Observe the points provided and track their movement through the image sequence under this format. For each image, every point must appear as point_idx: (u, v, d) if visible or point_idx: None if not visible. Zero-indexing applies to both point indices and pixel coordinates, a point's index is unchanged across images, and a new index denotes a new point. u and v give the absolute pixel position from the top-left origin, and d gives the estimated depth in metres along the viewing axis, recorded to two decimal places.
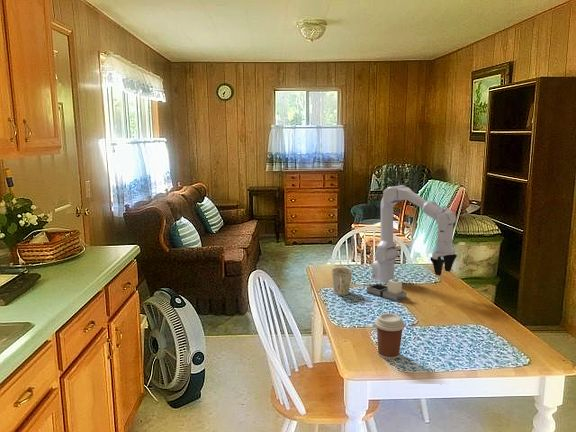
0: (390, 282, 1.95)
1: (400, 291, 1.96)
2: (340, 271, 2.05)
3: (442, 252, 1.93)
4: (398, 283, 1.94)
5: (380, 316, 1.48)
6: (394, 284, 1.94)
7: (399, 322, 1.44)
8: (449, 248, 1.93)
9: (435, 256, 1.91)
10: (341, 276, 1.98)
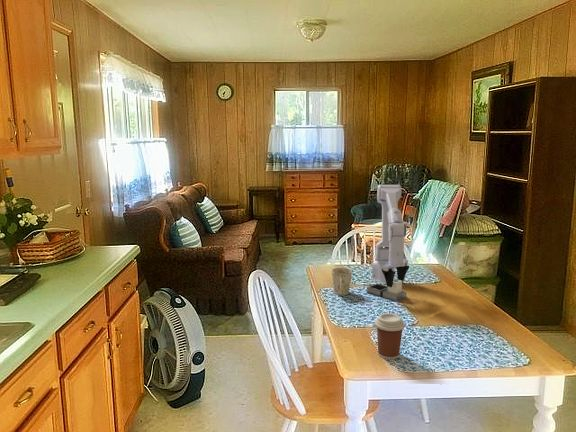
0: None
1: (400, 291, 1.96)
2: (340, 271, 2.05)
3: (393, 264, 1.92)
4: (398, 283, 1.94)
5: (380, 316, 1.48)
6: (394, 284, 1.94)
7: (399, 322, 1.44)
8: (400, 260, 1.92)
9: (385, 268, 1.90)
10: (341, 276, 1.98)
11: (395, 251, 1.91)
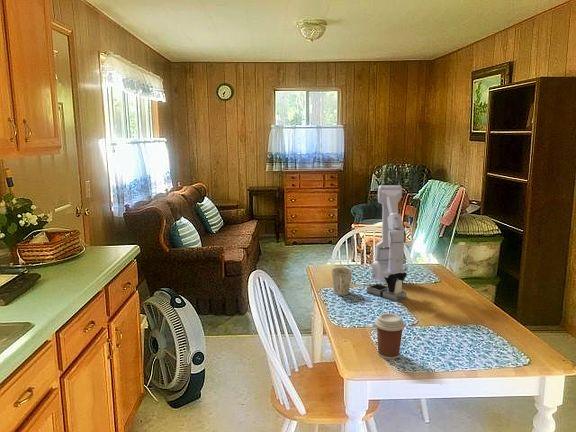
0: None
1: (400, 291, 1.96)
2: (340, 271, 2.05)
3: (393, 270, 1.93)
4: (398, 283, 1.94)
5: (380, 316, 1.48)
6: None
7: (399, 322, 1.44)
8: (400, 266, 1.92)
9: (385, 274, 1.90)
10: (341, 276, 1.98)
11: (395, 258, 1.92)
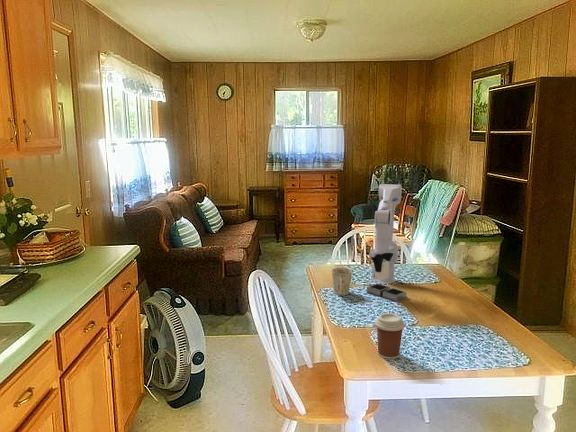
0: None
1: (387, 271, 2.00)
2: (340, 271, 2.05)
3: (379, 250, 1.96)
4: (385, 263, 1.98)
5: (380, 316, 1.48)
6: None
7: (399, 322, 1.45)
8: (386, 246, 1.96)
9: (372, 254, 1.94)
10: (341, 276, 1.98)
11: (379, 237, 1.96)
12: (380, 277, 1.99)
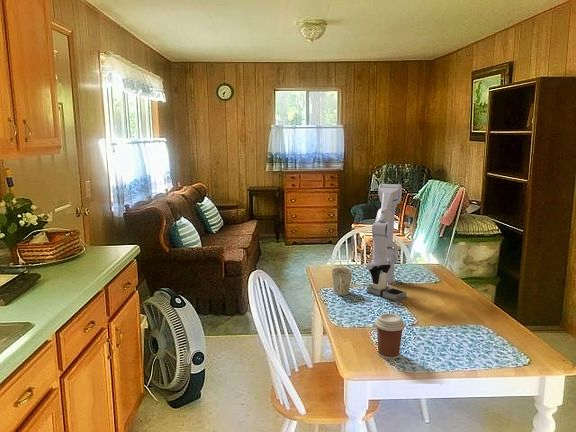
0: None
1: (385, 283, 2.02)
2: (340, 271, 2.05)
3: (377, 262, 1.98)
4: (382, 275, 2.00)
5: (380, 316, 1.48)
6: (379, 276, 1.99)
7: (399, 322, 1.44)
8: (383, 258, 1.98)
9: (369, 266, 1.96)
10: (341, 276, 1.98)
11: (376, 250, 1.97)
12: None
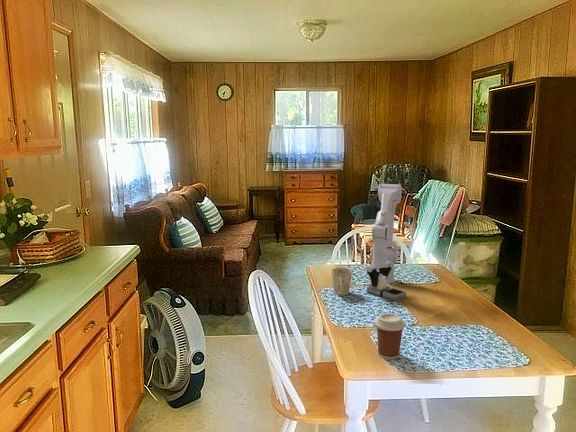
0: None
1: (385, 286, 2.02)
2: (340, 271, 2.05)
3: (377, 265, 1.98)
4: (382, 279, 2.00)
5: (380, 316, 1.48)
6: (378, 280, 2.00)
7: (399, 322, 1.44)
8: (383, 261, 1.98)
9: (369, 269, 1.96)
10: (341, 276, 1.98)
11: (376, 252, 1.98)
12: None
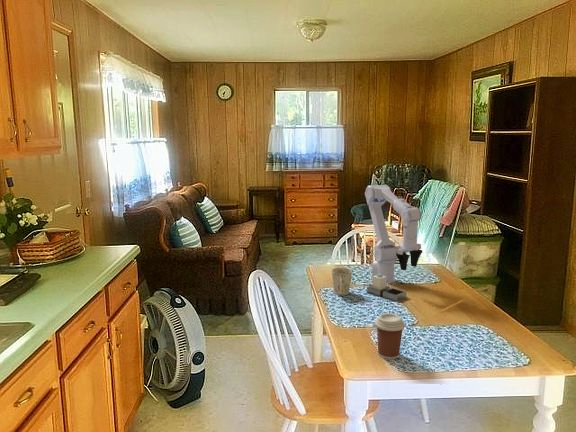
0: (375, 278, 2.01)
1: (385, 286, 2.02)
2: (340, 271, 2.05)
3: (407, 248, 1.99)
4: (382, 279, 2.00)
5: (380, 316, 1.48)
6: (378, 280, 2.00)
7: (399, 322, 1.44)
8: (414, 244, 1.99)
9: (400, 251, 1.97)
10: (341, 276, 1.98)
11: (412, 235, 1.98)
12: None
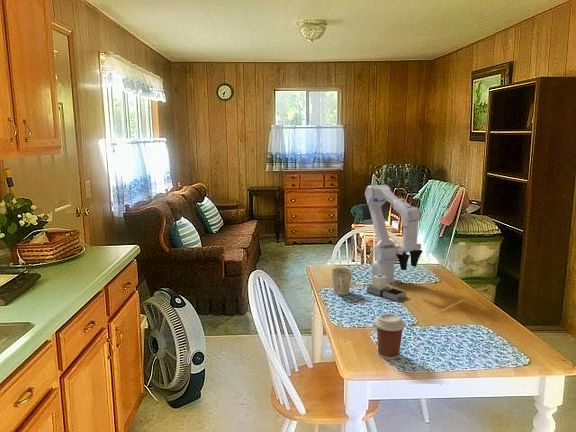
0: (375, 278, 2.01)
1: (385, 286, 2.02)
2: (340, 271, 2.05)
3: (407, 248, 1.99)
4: (382, 279, 2.00)
5: (380, 316, 1.48)
6: (378, 280, 2.00)
7: (399, 322, 1.44)
8: (414, 244, 1.99)
9: (400, 251, 1.97)
10: (341, 276, 1.98)
11: (412, 235, 1.98)
12: None
